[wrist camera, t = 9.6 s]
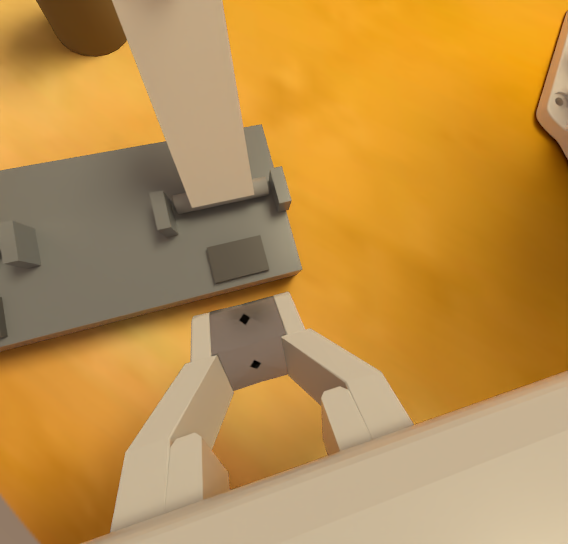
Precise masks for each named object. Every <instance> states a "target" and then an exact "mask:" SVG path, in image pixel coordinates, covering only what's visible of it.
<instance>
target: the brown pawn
mask: <svg viewBox="0 0 568 544" xmlns="http://www.w3.org/2000/svg"><path fill="white" fill-rule="evenodd" d="M36 1H37V3H38V4H39V6H40V8H41V10H42V11H43V13H44V15H45V17H46V18H47V20H48V22H49V24H50V25H51V27H52V29H53V30H54V32H55V34H56V36H57V37H58V38H59V40H60V41H61V43H62V44H63V45H64V46H66V47H67V48H68V49H70V50H71V51H73V52H76V53H79V54H81V55H86V56H100V55H106V54H109V53H111V52H113V51H115V50H117V49H119V48H120V47H121V46H122V45H123V44H124V43H125V42H126V40H127V38H126V36H125V33H124V31H123V28H122V25H121V23H120V20H119V18H118V15H117V12H116V10H115V7H114V5H113V2H112V0H36Z"/></svg>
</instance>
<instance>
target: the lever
mask: <svg viewBox="0 0 568 544" xmlns="http://www.w3.org/2000/svg"><path fill="white" fill-rule="evenodd" d="M112 2H113V5H114V7H115V10H116V12H117V15H118V18H119V20H120V23H121V25H122V28H123V31H124V33H125V36H126V38H127V41H128V44H129V46H130V49H131V51H132V54H133V56H134V59H135V62H136V64H137V67H138V69H139V72H140V75H141V77H142V80H143V82H144V85H145V88H146V90H147V93H148V95H149V98H150V100H151V103H152V106H153V108H154V111H155V113H156V116H157V119H158V121H159V124H160V126H161V129H162V132H163V134H164V137H165V139H166V142H167V144H168V147H169V150H170V152H171V155H172V157H173V160H174V163H175V165H176V168H177V170H178V173H179V176H180V178H181V181H182V183H183V186H184V188H185V191H186V193H182V194H177V195H173V202H174V205H175V208H176V210H177V212H178V214H182V213H186V212H191V211H196V210H200V209H205V208H210V207H214V206H219V205H224V204H228V203H233V202H238V201H242V200H247V199H252V198H256V197H261V196H266V195H269V190H268V184H267V181H266V178H265V177H260V178H255V179H252V177H251V171H250V165H249V159H248V153H247V147H246V141H245V135H244V129H243V123H242V117H241V111H240V105H239V99H238V93H237V87H236V81H235V75H234V69H233V63H232V57H231V51H230V45H229V39H228V33H227V27H226V21H225V15H224V9H223V3H222V0H112Z"/></svg>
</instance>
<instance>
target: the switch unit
mask: <svg viewBox="0 0 568 544" xmlns="http://www.w3.org/2000/svg"><path fill="white" fill-rule="evenodd" d="M243 129H244V135H245V141H246V147H247V153H248V159H249V165H250V171H251V177H252V179H255V178H260V177H265V178H266V181H267V184H268V190H269V195H266V196H261V197H256V198H252V199H247V200H242V201H238V202H233V203H228V204H224V205H219V206H214V207H210V208H205V209H200V210H196V211H191V212H186V213H182V214H178V212H177V210H176V208H175V205H174V202H173V195H177V194H182V193H186V191H185V188H184V186H183V183H182V181H181V178H180V176H179V173H178V170H177V168H176V165H175V163H174V160H173V157H172V155H171V152H170V150H169V147H168V144H167V142H166V141H165V142H159V143H154V144H148V145H142V146H137V147H131V148H125V149H120V150H114V151H108V152H103V153H97V154H91V155H86V156H80V157H74V158H69V159H63V160H57V161H52V162H46V163H40V164H35V165H29V166H23V167H18V168H12V169H6V170H1V171H0V248H1V252H0V352H1V351H5V350H9V349H13V348H16V347H20V346H24V345H28V344H32V343H36V342H40V341H43V340H47V339H51V338H55V337H59V336H63V335H67V334H70V333H74V332H78V331H82V330H86V329H90V328H94V327H97V326H101V325H105V324H109V323H113V322H117V321H121V320H124V319H128V318H132V317H136V316H140V315H144V314H148V313H151V312H155V311H159V310H163V309H167V308H171V307H175V306H178V305H182V304H186V303H190V302H194V301H198V300H202V299H205V298H209V297H213V296H217V295H221V294H225V293H228V292H232V291H236V290H240V289H244V288H248V287H252V286H255V285H259V284H263V283H267V282H271V281H275V280H279V279H282V278H286V277H290V276H294V275H296V274H298V273H299V272H300V271H301V270H302V267H301V263H300V259H299V256H298V252H297V249H296V245H295V242H294V238H293V234H292V231H291V227H290V224H289V220H288V217H287V213H286V210H289V207H290V204H291V197H290V194H289V190H288V187H287V183H286V180H285V176H284V173H283V169H282V166H281V167H276V168H274V167H273V163H272V160H271V156H270V152H269V149H268V145H267V142H266V138H265V135H264V131H263V127H262V124H261V125H256V126H250V127H244V128H243Z"/></svg>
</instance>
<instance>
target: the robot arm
mask: <svg viewBox="0 0 568 544" xmlns="http://www.w3.org/2000/svg"><path fill="white" fill-rule="evenodd" d="M536 116H537V120H538V121H539V123H540V124H541V126H542V127H543V128H544V129H545V130H546V131H547V132H548V133H549V134H550V135H551V136H552V137H553V138H554V139H555V140H557V142H558V143H559V145H560V146H561V148H562V150H563V152H564V154H565V155H566V157H567V159H568V11H567V13H566V16H565V19H564V22H563V26H562V29H561V32H560V36H559V39H558V42H557V45H556V49H555V52H554V55H553V59H552V62H551V65H550V69H549V72H548V75H547V78H546V82H545V85H544V88H543V92H542V95H541V98H540V102H539V105H538V108H537V112H536ZM287 374H288V376H289V377H291V378H292V379H293V380H294V381H295V382H296V383H297V384H298V385H299V386H300V387H301V388H302V389H304V390H305V391H306V392H307V393H308V394H309V395H310V396H311V397H312V398H313V399H314V400H316V401H317V402H318V403H319V404H320V405H321V409H322V434H323V442H324V445H325V448H326V451H327V454H328V456H325V457H323V458H320V459H317V460H314V461H311V462H308V463H306V464H303V465H300V466H297V467H294V468H292V469H289V470H286V471H283V472H280V473H277V474H275V475H272V476H269V477H266V478H263V479H261V480H258V481H255V482H252V483H249V484H247V485H244V486H241V487H238V488H235V489H232V490H230V485H229V475H228V471H227V470H226V469H225V467H224V466H223V465H222V463H221V462H220V461H219V459H218V458H217V457H216V455H215V454H214V453H213V451H212V448H213V445H214V443H215V440H216V438H217V435H218V433H219V430H220V427H221V425H222V422H223V420H224V417H225V414H226V412H227V409H228V407H229V404H230V402H231V399H232V396H233V394H234V392H233V391H235V390H238V389H241V388H244V387H247V386H250V385H253V384H256V383H259V382H262V381H266V380H269V379H273V378H276V377H280V376H284V375H287ZM80 544H568V370H567V371H565V372H562V373H559V374H556V375H553V376H551V377H548V378H545V379H542V380H539V381H536V382H534V383H531V384H528V385H525V386H522V387H520V388H517V389H514V390H511V391H508V392H506V393H503V394H500V395H497V396H494V397H491V398H489V399H486V400H483V401H480V402H477V403H475V404H472V405H469V406H466V407H463V408H460V409H458V410H455V411H452V412H449V413H446V414H444V415H441V416H438V417H435V418H432V419H429V420H427V421H424V422H421V423H418V424H415V425H414V424H413V422H412V421H411V419H410V417H409V416H408V414H407V413H406V411H405V409H404V408H403V406H402V404H401V403H400V401H399V400H398V398H397V396H396V395H395V393H394V392H393V390H392V388H391V387H390V385H389V383H388V382H387V380H386V379H385V377H384V375H383V374H382V372H381V371H379V370H377V369H376V368H374V367H373V366H371V365H369V364H368V363H366V362H364V361H363V360H361V359H360V358H358V357H356V356H355V355H353V354H351V353H350V352H348V351H346V350H345V349H343V348H342V347H340V346H338V345H337V344H335V343H333V342H332V341H330V340H329V339H327V338H325V337H324V336H322V335H320V334H319V333H317V332H315V331H314V330H312V329H311V328H310V329H306V330H305V327H304V325H303V323H302V320H301V318H300V316H299V313H298V311H297V309H296V306H295V304H294V301H293V299H292V297H291V294H290V293H289V292H285V293H281V294H277V295H274V296H271V297H267V298H263V299H260V300H256V301H252V302H248V303H245V304H241V305H237V306H233V307H229V308H225V309H220V310H216V311H212V312H210V313H205V314H201V315H197V316H193V318H192V323H191V362H190V363H186V364H185V365H184V366H183V368H182V369H181V371H180V372H179V374H178V375H177V377H176V378H175V380H174V381H173V383H172V384H171V386H170V387H169V389H168V390H167V392H166V393H165V395H164V396H163V398H162V399H161V401H160V402H159V404H158V405H157V407H156V408H155V410H154V411H153V412H152V414H151V415H150V417H149V418H148V420H147V421H146V423H145V424H144V426H143V427H142V429H141V430H140V432H139V433H138V435H137V436H136V438H135V439H134V441H133V442H132V444H131V445H130V447H129V448H128V450H127V451H126V453H125V458H124V463H123V468H122V473H121V478H120V484H119V489H118V494H117V499H116V504H115V510H114V515H113V520H112V525H111V530H110V533H109V534H106V535H103V536H100V537H97V538H95V539H92V540H89V541H86V542H83V543H80Z"/></svg>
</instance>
